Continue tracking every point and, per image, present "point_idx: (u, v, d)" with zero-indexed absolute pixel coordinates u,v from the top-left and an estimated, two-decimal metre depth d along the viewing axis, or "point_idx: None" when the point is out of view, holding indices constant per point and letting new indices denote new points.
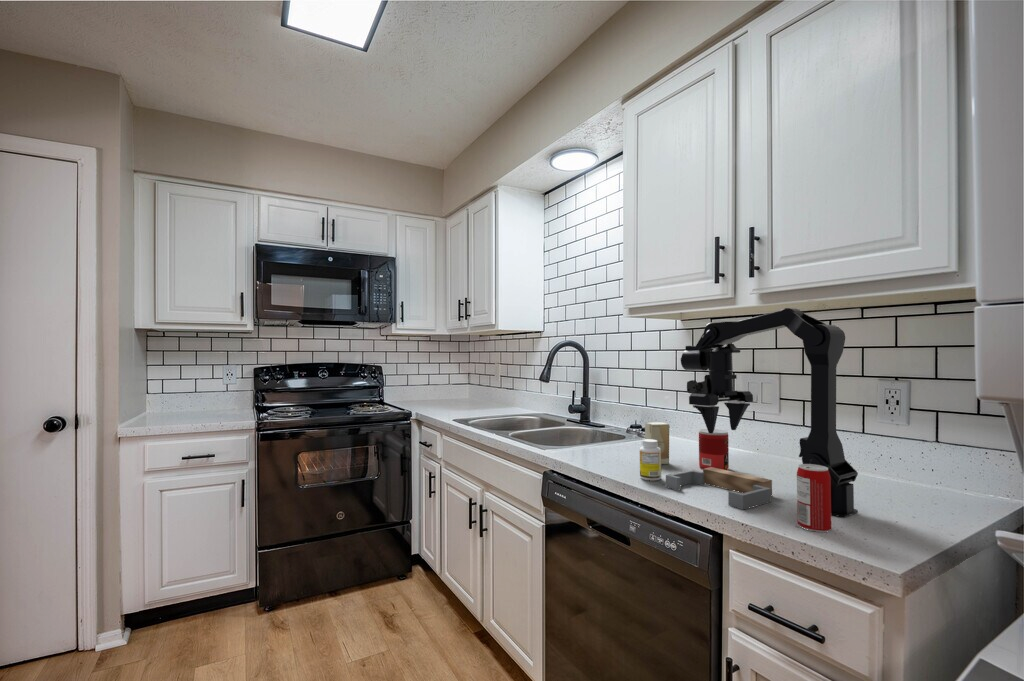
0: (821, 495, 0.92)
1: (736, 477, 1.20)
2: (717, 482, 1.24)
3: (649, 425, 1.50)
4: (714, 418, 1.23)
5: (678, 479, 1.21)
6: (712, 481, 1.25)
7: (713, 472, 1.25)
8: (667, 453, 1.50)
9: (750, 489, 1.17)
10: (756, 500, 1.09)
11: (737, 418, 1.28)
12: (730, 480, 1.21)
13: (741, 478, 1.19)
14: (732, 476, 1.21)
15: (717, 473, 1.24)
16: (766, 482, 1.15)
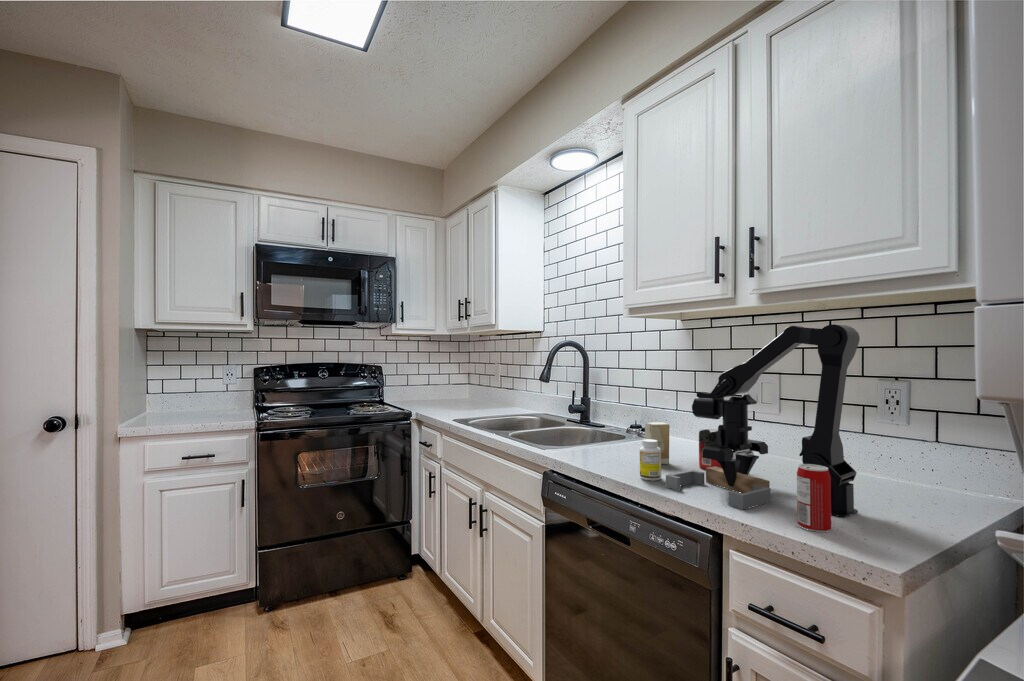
0: (821, 495, 0.92)
1: None
2: (718, 482, 1.25)
3: (649, 425, 1.50)
4: (735, 472, 1.19)
5: (678, 479, 1.21)
6: (714, 480, 1.26)
7: (714, 471, 1.26)
8: (667, 453, 1.50)
9: (747, 489, 1.17)
10: (756, 500, 1.09)
11: (745, 472, 1.22)
12: None
13: (739, 478, 1.19)
14: None
15: (718, 472, 1.25)
16: (762, 482, 1.14)
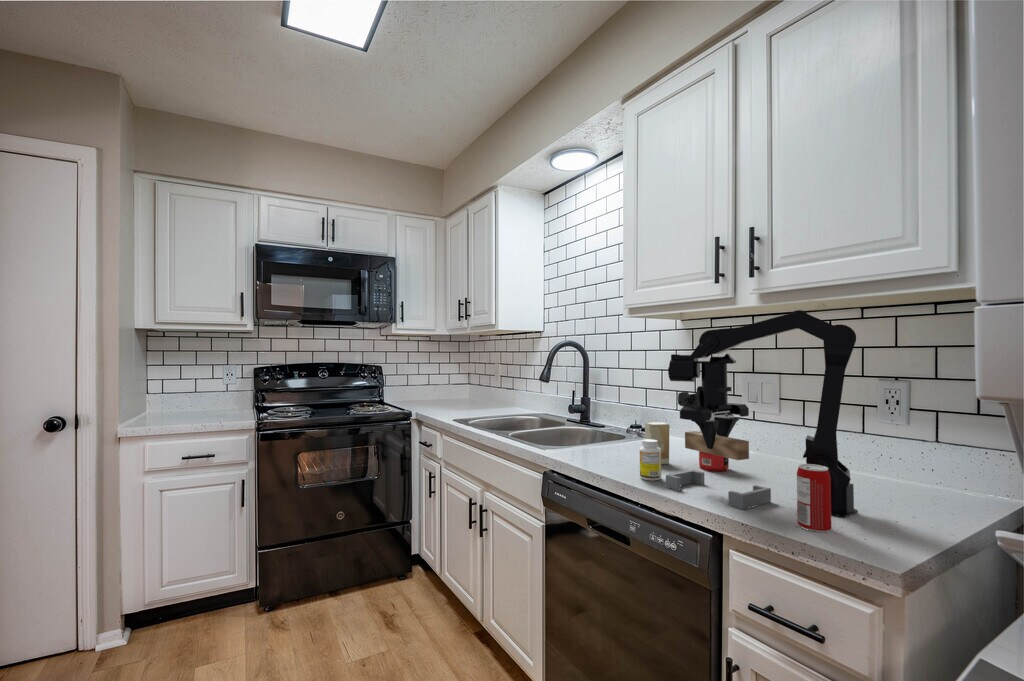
0: (821, 495, 0.92)
1: None
2: (697, 445, 1.21)
3: (649, 425, 1.50)
4: (713, 433, 1.15)
5: (678, 479, 1.21)
6: (693, 444, 1.22)
7: (693, 435, 1.22)
8: (667, 453, 1.50)
9: (726, 450, 1.13)
10: (756, 500, 1.09)
11: (725, 434, 1.18)
12: None
13: (718, 439, 1.15)
14: None
15: (697, 435, 1.21)
16: (741, 442, 1.11)
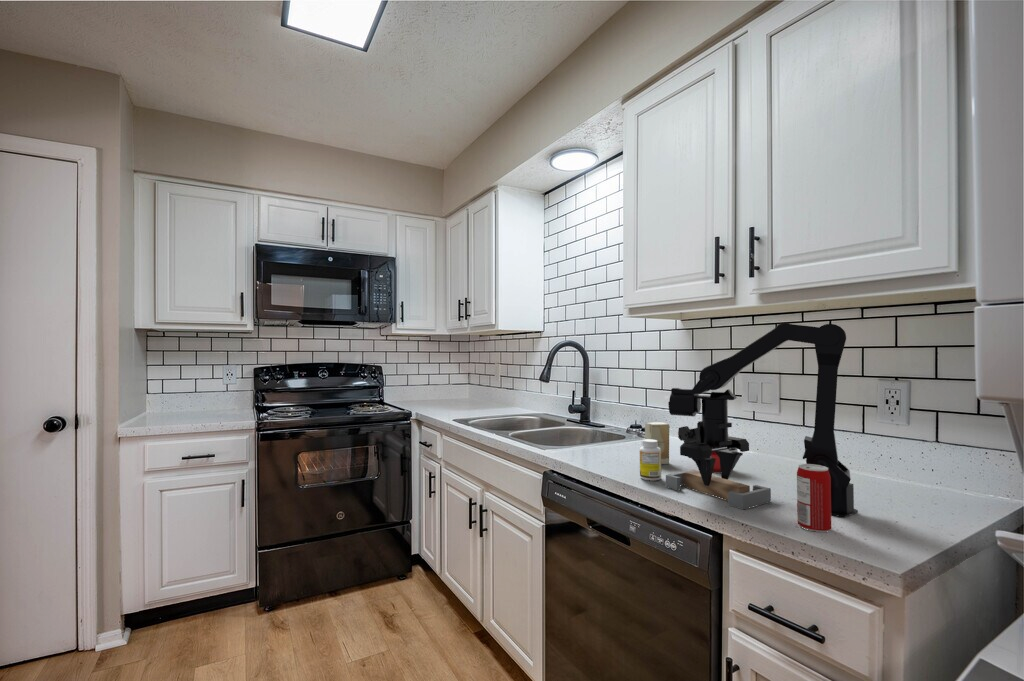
0: (821, 495, 0.92)
1: (714, 481, 1.16)
2: (697, 487, 1.20)
3: (649, 425, 1.50)
4: (710, 470, 1.14)
5: (678, 479, 1.21)
6: (693, 485, 1.22)
7: (693, 476, 1.21)
8: (667, 453, 1.50)
9: (726, 494, 1.13)
10: (756, 500, 1.09)
11: (728, 469, 1.18)
12: None
13: (718, 483, 1.15)
14: None
15: (697, 477, 1.20)
16: (742, 488, 1.10)
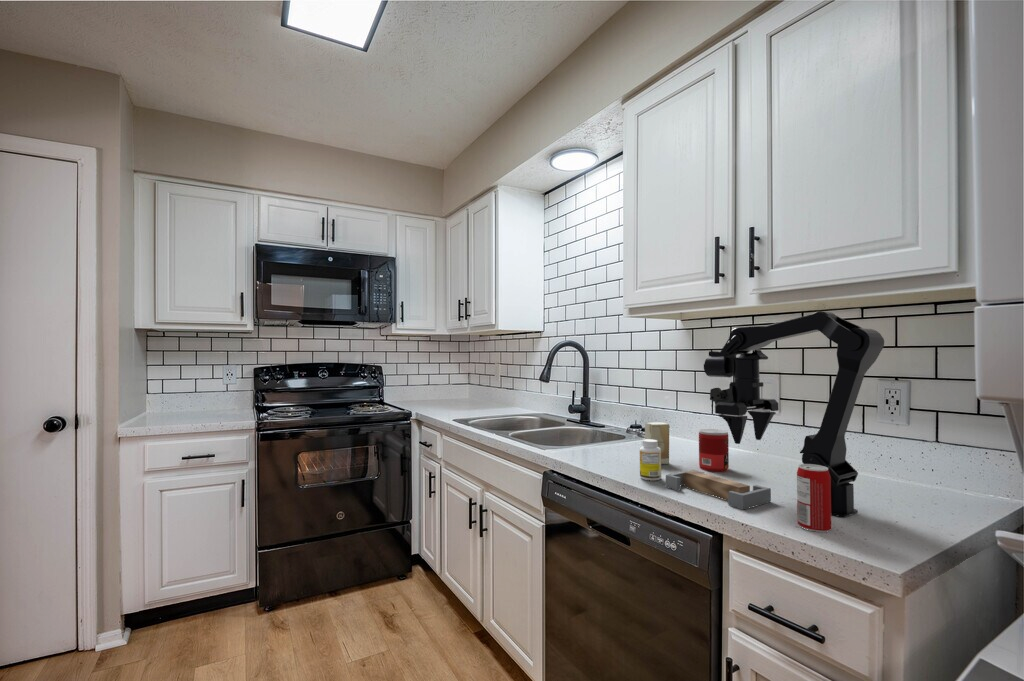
0: (821, 495, 0.92)
1: (714, 481, 1.16)
2: (697, 487, 1.20)
3: (649, 425, 1.50)
4: (742, 428, 1.17)
5: (678, 479, 1.21)
6: (693, 485, 1.22)
7: (693, 476, 1.21)
8: (667, 453, 1.50)
9: (727, 494, 1.13)
10: (756, 500, 1.09)
11: (762, 427, 1.23)
12: (708, 484, 1.17)
13: (718, 483, 1.15)
14: (710, 480, 1.17)
15: (697, 477, 1.20)
16: (742, 488, 1.10)
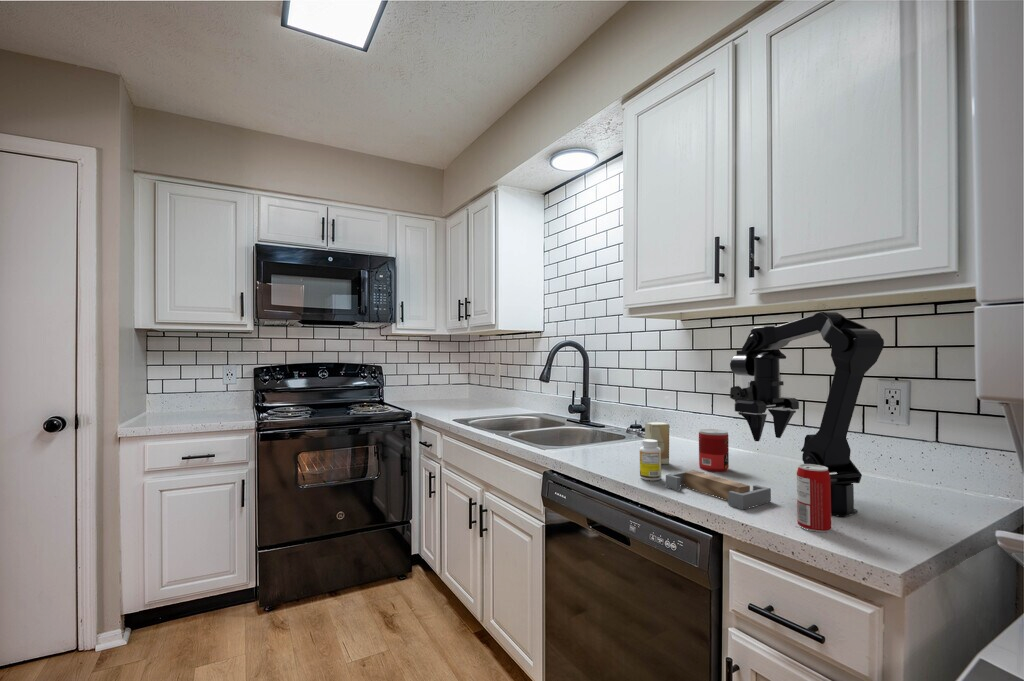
0: (821, 495, 0.92)
1: (714, 481, 1.16)
2: (697, 487, 1.20)
3: (649, 425, 1.50)
4: (761, 426, 1.19)
5: (678, 479, 1.21)
6: (693, 485, 1.22)
7: (693, 476, 1.21)
8: (667, 453, 1.50)
9: (727, 494, 1.13)
10: (756, 500, 1.09)
11: (782, 426, 1.25)
12: (708, 484, 1.17)
13: (718, 483, 1.15)
14: (710, 480, 1.17)
15: (697, 477, 1.20)
16: (742, 488, 1.10)
